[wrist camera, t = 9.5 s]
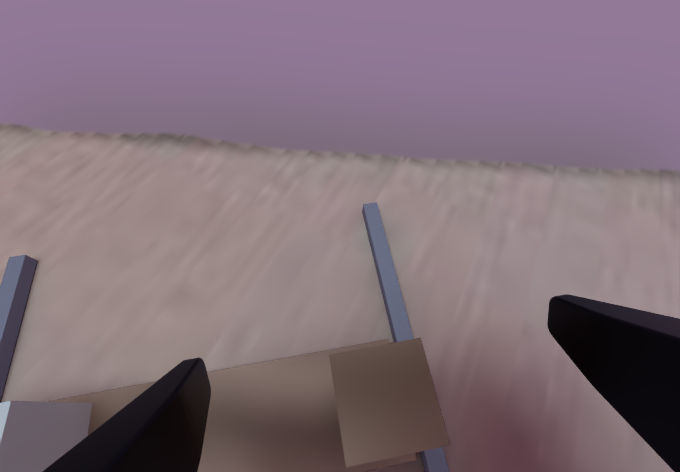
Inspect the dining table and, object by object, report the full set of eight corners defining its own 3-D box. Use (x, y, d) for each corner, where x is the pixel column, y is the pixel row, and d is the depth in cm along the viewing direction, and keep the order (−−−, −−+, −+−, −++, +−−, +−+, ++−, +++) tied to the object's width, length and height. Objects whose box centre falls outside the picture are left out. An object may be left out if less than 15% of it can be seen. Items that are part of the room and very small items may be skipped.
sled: (412, 457, 18) (487, 507, 9) (-33, 552, 16) (-505, 735, 7) (386, 342, 20) (422, 291, 11) (3, 412, 19) (-305, 416, 10)
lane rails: (448, 484, 17) (453, 488, 16) (-75, 600, 15) (-100, 612, 14) (375, 209, 25) (376, 202, 24) (22, 263, 23) (9, 257, 22)
